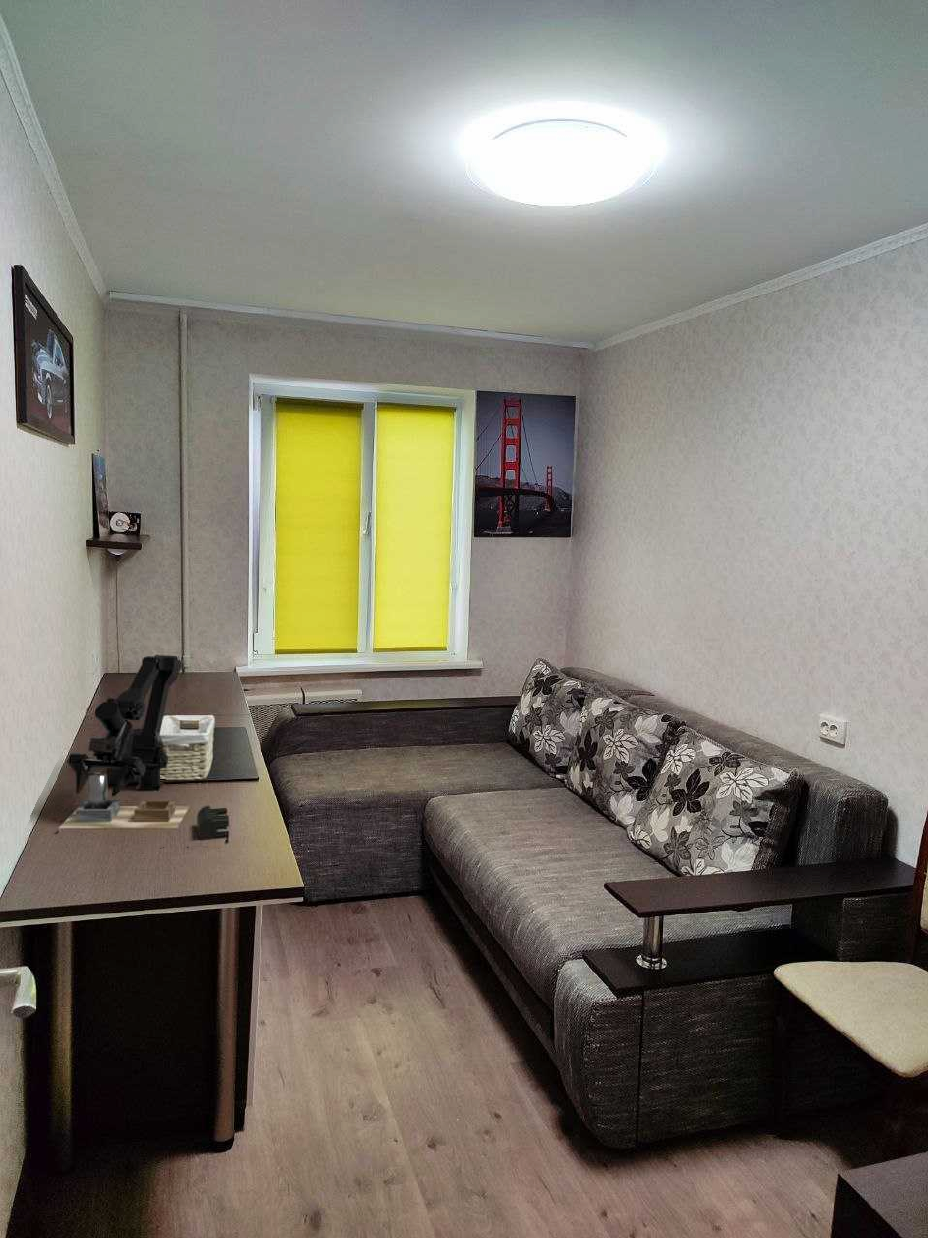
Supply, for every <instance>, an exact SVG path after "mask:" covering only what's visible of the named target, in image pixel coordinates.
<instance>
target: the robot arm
mask: <svg viewBox="0 0 928 1238" xmlns="http://www.w3.org/2000/svg"><path fill="white" fill-rule="evenodd" d="M181 670H182V661H181V660H180V659H179V657H178V656H177V655H167V654H166V655H165V654H155V655H153V656H152V655H147V656H144V657H143V658H142V662H141V666H140V667H139V669H138V671H137V673H136V675H135V677H134V678H133V680H132V681H131V683H130V685H129V687H128V689H127V690H125V691H123V692H122V693H120V694H119V695H118V696H117V698H110V697H107V700H106V701H105V702H102V703H100V704H99V705H98V706H97V707H96V708H95V710H94V716H95V717H96V719H97V720H98V721H99V723H100V725H101V726H102V728H103V729H104V730H105V731H106V734H105V736H104V737H101V738H97V737H96V738H95V737H91V738H89V739H90V740H89V745H88V749H87V750H88V751H89V752H93V753H92V755H93V757H95V759H94V758H90V757H89V756H88V755H87V754H86V753H85V752H84V753H83V752H81V753H80V752H72V753H70V754H69V755H68V757H67V760H66V763H67V764H68V765H69V766H70V768H71V769H72V770H73V771H74V772H75V776H76V779H75V780H76V782H75V783H76V786H75V788H76V790H75V791H76V794H77V795H80V794H81V792H82V791H83V789H84V787H85V785H86V783H87V780H89V774H90V773H89V772H90V771H91V770H92V768H104V769H105V768H106V769H119V772H118V776H117V778H116V780H115V783H114V786H113V788H112V790H111V796H112V797H115V796H117V795H118V794H119V792H121V791H122V790H123V789H124V788H125V787H126V786H127V785H128V784H130V783H131V782H132V781H134V780H137V779H138V785H137V786H136V787H135V790H136V791H160V789H161V788H162V787H163V785H164V784H165V782H164V781H161V780H160V769H161V768H165V767H167V762H168V757H167V755H166V754H165V752H164V750H163V742H162V740H161V737H160V730H161V725H162V720H163V716H165V710H166V706H167V700H168V696H169V692H170V691H169V690H170V687H171V685H173V684H174V682H176V680H178V676H179V673H180V671H181ZM149 691H150V694H149V696H148V697H149V698H148V703H147V707H146V704H145V699H146V697H147V695H148V693H149ZM145 711H146V712H145ZM144 714H145V716H144ZM143 716H144V722H143V725H142V730H141V732H139V734H135V729H134V726H133V724H132V723H131V722H130V721H139V720H141V718H142V717H143ZM131 735H134V736H133V738H132V744H131V746H130V749H129V755H128V756H127V755H126V756H125V757H123V756H124V754H127V752H128V749H127V744H128V742H129V740H130V738H131V737H130V736H131ZM122 757H123V759H122Z"/></svg>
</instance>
